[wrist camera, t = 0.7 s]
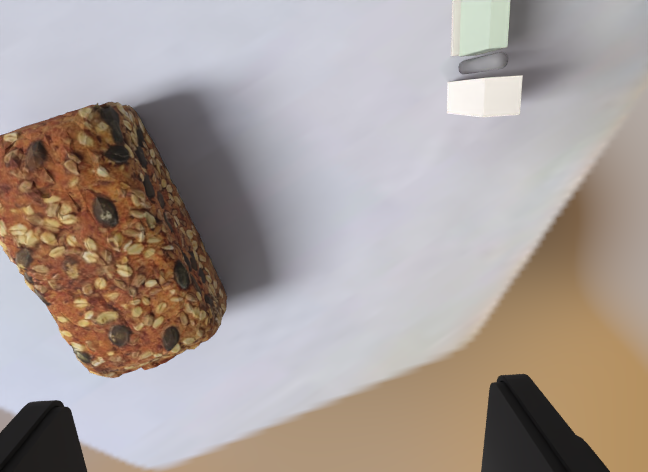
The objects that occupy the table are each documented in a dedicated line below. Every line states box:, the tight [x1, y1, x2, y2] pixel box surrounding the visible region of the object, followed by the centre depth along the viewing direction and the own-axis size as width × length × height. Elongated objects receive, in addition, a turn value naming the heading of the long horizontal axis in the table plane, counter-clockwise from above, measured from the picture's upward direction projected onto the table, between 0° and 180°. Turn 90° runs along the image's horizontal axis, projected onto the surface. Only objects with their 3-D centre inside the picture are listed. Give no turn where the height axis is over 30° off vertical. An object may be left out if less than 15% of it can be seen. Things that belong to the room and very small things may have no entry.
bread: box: [0, 102, 227, 378], centre depth 32 cm, size 19×11×10 cm, turn 19°
